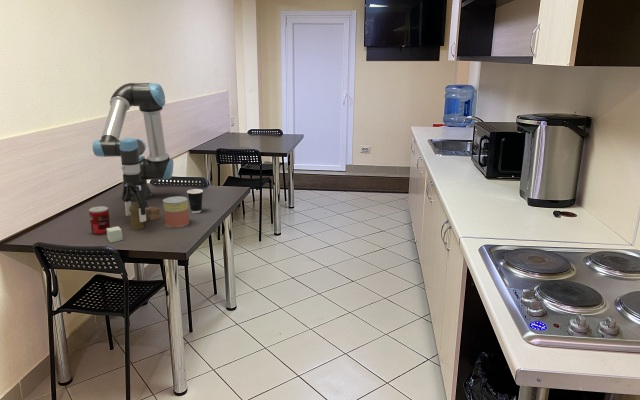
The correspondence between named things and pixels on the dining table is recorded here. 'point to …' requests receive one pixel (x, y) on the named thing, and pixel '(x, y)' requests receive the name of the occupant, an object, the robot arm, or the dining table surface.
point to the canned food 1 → (99, 219)
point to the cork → (135, 218)
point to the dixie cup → (195, 200)
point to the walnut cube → (152, 213)
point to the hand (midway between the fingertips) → (136, 218)
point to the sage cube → (114, 234)
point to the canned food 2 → (176, 211)
